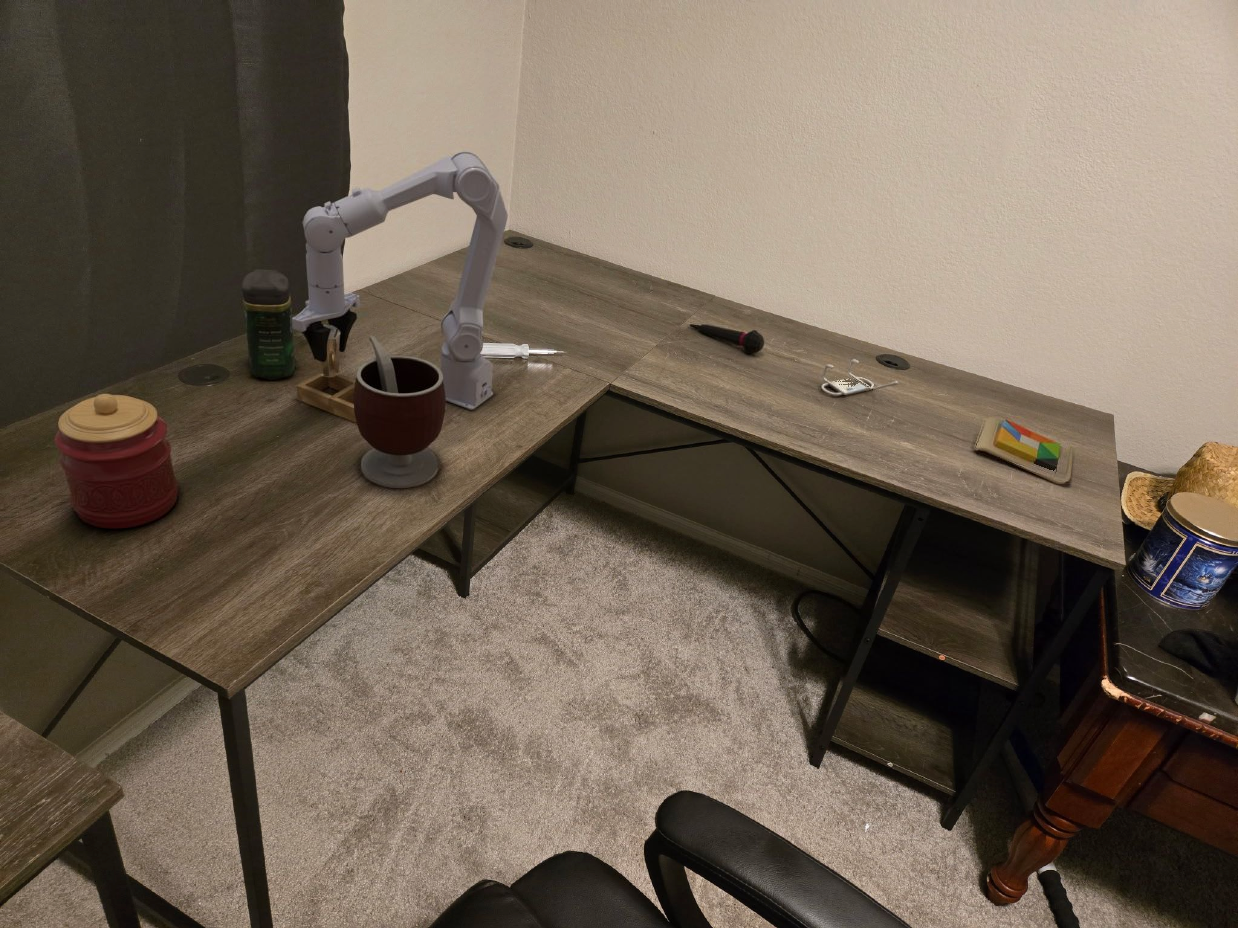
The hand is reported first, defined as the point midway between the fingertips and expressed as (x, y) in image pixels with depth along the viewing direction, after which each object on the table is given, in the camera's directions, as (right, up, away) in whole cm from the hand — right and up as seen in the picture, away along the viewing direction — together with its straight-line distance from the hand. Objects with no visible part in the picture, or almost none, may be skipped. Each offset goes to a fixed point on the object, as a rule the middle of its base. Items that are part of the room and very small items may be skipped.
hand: (329, 354), depth 140 cm
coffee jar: (-14, -1, +10) cm, 18 cm away
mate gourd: (+14, -19, -9) cm, 26 cm away
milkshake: (-1, -3, +2) cm, 4 cm away
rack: (+2, -8, +4) cm, 9 cm away
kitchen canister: (-19, -25, -27) cm, 41 cm away
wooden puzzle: (+137, -17, +29) cm, 142 cm away
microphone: (+78, +11, +54) cm, 95 cm away
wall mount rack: (+105, -3, +41) cm, 113 cm away
